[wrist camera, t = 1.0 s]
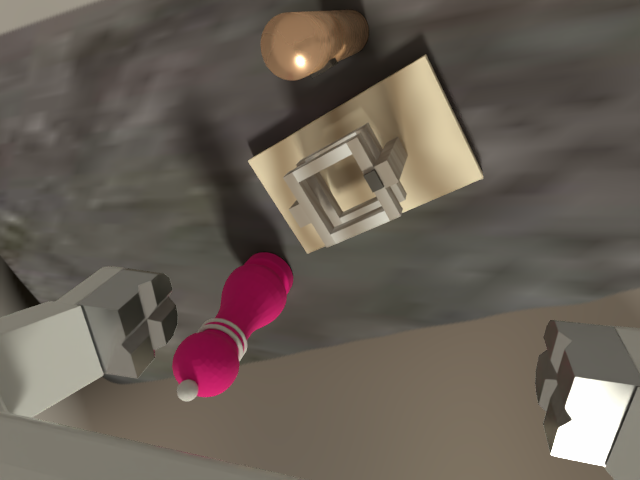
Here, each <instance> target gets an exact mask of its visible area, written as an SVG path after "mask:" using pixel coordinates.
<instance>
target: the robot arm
mask: <svg viewBox="0 0 640 480" xmlns="http://www.w3.org/2000/svg"><path fill="white" fill-rule="evenodd" d="M172 290H173V289H172V285H171V281H170V278H169V277H168V276H167V275H165V274H164V273H157V272H150V271H143V270H136V269H129V268H128V269H127V268H122V267H113V266H108V267H103V268H101V269H100V270H98V271H97V272H96V273H94V274H93V275H92V276H90V277H89V278H87V279H86V280H85V281H83V282H82V283H80V284H79V285H78V286H76V287H75V288H74V289H72V290H71V291H69V292H68V293H67V294H65V295H64V296H63V297H61V298H60V299H58V300H57V301H56V302H51V301H49V302H46V303H43V304H40V305H36V306H33V307H30V308H28V309H24V310H22V311H19V312H15V313H12V314H10V315H6V316H3V317H0V480H307V479H302V478H298V477H294V476H289V475H285V474H280V473H276V472H272V471H266V470H263V469H258V468H254V467H249V466H245V465H240V464H236V463H231V462H227V461H222V460H218V459H213V458H209V457H204V456H200V455H196V454H191V453H186V452H182V451H178V450H173V449H169V448H164V447H160V446H155V445H150V444H146V443H142V442H137V441H133V440H129V439H124V438H119V437H115V436H110V435H106V434H101V433H97V432H93V431H88V430H84V429H79V428H75V427H70V426H66V425H62V424H57V423H52V422H48V421H44V420H39V419H35V418H32V417H34V416H35V415H37V414H39V413H41V412H42V411H44V410H45V409H47V408H49V407H50V406H52V405H54V404H56V403H57V402H59V401H61V400H62V399H64V398H66V397H68V396H69V395H71V394H73V393H74V392H76V391H77V390H79V389H81V388H83V387H84V386H86V385H88V384H89V383H91V382H93V381H95V380H96V379H98V378H100V377H101V376H103V375H104V374H103V373H106V374H112V375H119V376H125V377H132V378H138V377H139V376H140V375H141V374H142V373H143V371H144V370H145V369H146V368H147V367H148V365H149V364H150V363H151V362H152V361H153V360H154V358H155V350H156V349H158V348H160V347H162V346H164V345H166V344H167V343H168V342H169V341H170V339H171V338H172V337H173V335H174V332H175V330H176V327H177V324H178V312H177V307H176V305H175V304H174V303H173V301H172V300H171V299H170V298H169V295H170V294H171V292H172ZM544 340H545V343H546V347H547V350H546V351H545V352H543V353H542V354H541V355H539V358H538V363H537V368H536V380H535V385H536V395H537V400H538V404H539V405H540V406H541V407H542V408H543V409H544V410H545V411H546V415H545V419H544V423H543V425H544V429H545V433H546V437H547V442H548V445H549V449H550V454H551V455H554V456H558V457H563V458H568V459H573V460H577V461H582V462H587V463H592V464H597V465H601V466H606V467H605V469H606V471H607V472H608V473H609V474H610V475H611V476H612V477H613V479H614V480H640V328H631V327H619V326H603V325H594V324H584V323H574V322H565V321H555V320H550V321H549V323H548V325H547V327H546V331H545V335H544Z"/></svg>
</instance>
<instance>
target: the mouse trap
mask: <svg viewBox="0 0 640 480" xmlns="http://www.w3.org/2000/svg"><path fill="white" fill-rule="evenodd" d="M248 162H249V164H250V165H251V167H252V168H253V170H254V171H255V173H256V175H257V176H258V178H259V179H260V181H261V182H262V184H263V185H264V187H265V189H266V190H267V192H268V193H269V195H270V196H271V198H272V199H273V201H274V203H275V204H276V206H277V207H278V209H279V210H280V212H281V213H282V215H283V216H284V218H285V220H286V221H287V223H288V224H289V226H290V227H291V229H292V230H293V232H294V234H295V235H296V237H297V238H298V240H299V241H300V243H301V244H302V246H303V248H304V249H305V251H306V252H307V254H308V253H310V252H312V251H315V250H317V249H319V248H322V247H324V246H326V247H330V246H332V245H334V244H337V243H339V242H341V241H344V240H346V239H348V238H351V237H353V236H356V235H358V234H360V233H363V232H365V231H367V230H370V229H372V228H374V227H377V226H379V225H381V224H384V223H386V222H388V221H391V220H393V219H395V218H398V217H400V216H401V214H402V213H403V212H406V211H408V210H410V209H413V208H415V207H417V206H419V205H422V204H424V203H426V202H429V201H431V200H433V199H436V198H438V197H440V196H443V195H445V194H447V193H450V192H452V191H454V190H457V189H459V188H461V187H464V186H466V185H468V184H471V183H473V182H475V181H478V180H480V179H482V178H483V172H482V170H481V168H480V166H479V164H478V162H477V160H476V158H475V156H474V154H473V151H472V149H471V147H470V145H469V143H468V141H467V139H466V137H465V135H464V133H463V131H462V128H461V126H460V124H459V122H458V120H457V118H456V116H455V114H454V112H453V110H452V107H451V105H450V103H449V101H448V99H447V97H446V95H445V93H444V91H443V89H442V87H441V84H440V82H439V80H438V78H437V76H436V74H435V72H434V70H433V68H432V66H431V63H430V61H429V59H428V57H427V55H426V54H425V55H424V56H422V57H420V58H419V59H417V60H415V61H414V62H412V63H410V64H409V65H407V66H405V67H404V68H402V69H400V70H399V71H397V72H395V73H394V74H392V75H390V76H388V77H387V78H385V79H383V80H382V81H380V82H378V83H377V84H375V85H373V86H372V87H370V88H368V89H367V90H365V91H363V92H362V93H360V94H358V95H357V96H355V97H353V98H352V99H350V100H348V101H347V102H345V103H343V104H341V105H340V106H338V107H336V108H335V109H333V110H331V111H330V112H328V113H326V114H325V115H323V116H321V117H320V118H318V119H316V120H315V121H313V122H311V123H310V124H308V125H306V126H305V127H303V128H301V129H299V130H298V131H296V132H294V133H293V134H291V135H289V136H288V137H286V138H284V139H283V140H281V141H279V142H278V143H276V144H274V145H273V146H271V147H269V148H268V149H266V150H264V151H263V152H261V153H259V154H258V155H256V156H254V157H253V158H251V159H250V160H249V161H248Z"/></svg>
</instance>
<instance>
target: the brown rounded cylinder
mask: <svg viewBox="0 0 640 480" xmlns="http://www.w3.org/2000/svg"><path fill="white" fill-rule="evenodd" d="M368 36H369V27H368V23H367V21H366V19H365V18H364V17H363V15H362V14H360V13H359V12H357V11H354V10H333V11H310V12H288V13H282V14H279V15H277V16H275V17H273V18H272V19H271V20H270V21H269V22H268V23H267V25H266V26H265V28H264V30H263V33H262V37H261V53H262V56H263V59H264V61H265V63H266V65H267V67H268V68H269V69H270V70H271V72H273V73H274V74H275V75H276V76H278V77H280V78H282V79H285V80H299V79H302V78H304V77H306V76H308V75H310V76H311V77H312V79H313V78H315V77H317V76H319V75H320V74H322V73H323V72H325V71H326V70H328V69H329V68H331V67H332V66H334V65H336V64H337V63H338V61H340V60H342V59H344V58H347V57H349V56H351V55H353V54H355V53H357V52H359V51H360V50H361V49H362V48H363V47H364V46H365V44H366V43H367V40H368Z"/></svg>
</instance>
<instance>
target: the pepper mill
mask: <svg viewBox="0 0 640 480" xmlns="http://www.w3.org/2000/svg"><path fill="white" fill-rule="evenodd" d="M292 284H293V274H292V271H291V269H290V267H289V266H288V264H287V263H286V262H285V261H284V260H283V259H282V258H280V257H278V256H277V255H275V254H271V253H267V252H264V253H257V254H254V255H253V256H251V257H250V258H249V259H248V260H247V262H246V263H245V264H244V265H243V266H240V267H238V268H237V269H235V270H234V271H233V272H232V273H231V274H230V276H229V277H228V279H227V281H226V283H225V285H224V288H223V291H222V298H221V306H220V310H219V312H218V314H217V316H216V317H215V318H214V319H210V320H207V321H206V322H205V323H204V324H203V325H202V327H201V328H200V329H199V330H198V331H197V333H195V334H192V335H190V336H189V337H187V338H186V339H185V340H184V341H182V343H181V344H180V345H179V347H178V348H177V350H176V352H175V355H174V358H173V365H172V367H173V373H174V376H175V378H176V380H177V381H178V383H179V386H178V388H177V395H178V397H179V398H180V399H181V400H183V401H191V400H193V399H194V398H195V397H196V396H200V397H211V396H216V395H218V394H220V393H222V392H224V391H225V390H226V389H227V388H229V386H230V385H231V384H232V383H233V382H234V380H235V378H236V376H237V374H238V370H239V361H240V360H241V359H242V357H243V355H244V354H245V352H246V350H247V339H248V337H249V336H250V335H251V333H252V332H253V331H255V330H256V329H259V328H261V327H263V326H265V325H267V324H269V323H270V322H272V321H273V320H274V319H276V318H277V317H278V315H279V314H280V313H281V312H282V310H283V308H284V306H285V304H286V298H287V296H286V295H287V293H288V292H289V290H290V288H291V286H292Z"/></svg>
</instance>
